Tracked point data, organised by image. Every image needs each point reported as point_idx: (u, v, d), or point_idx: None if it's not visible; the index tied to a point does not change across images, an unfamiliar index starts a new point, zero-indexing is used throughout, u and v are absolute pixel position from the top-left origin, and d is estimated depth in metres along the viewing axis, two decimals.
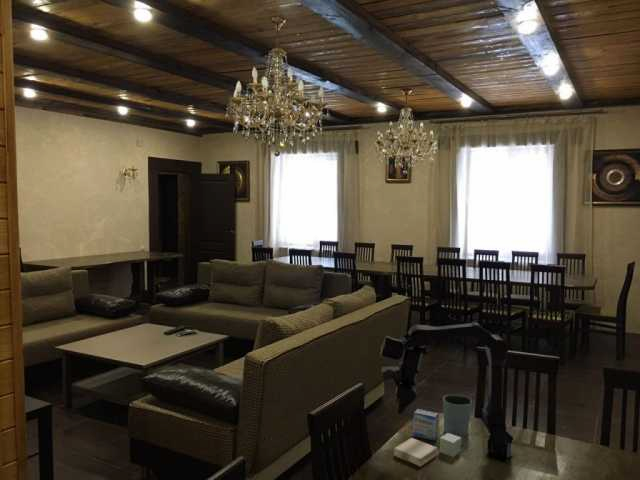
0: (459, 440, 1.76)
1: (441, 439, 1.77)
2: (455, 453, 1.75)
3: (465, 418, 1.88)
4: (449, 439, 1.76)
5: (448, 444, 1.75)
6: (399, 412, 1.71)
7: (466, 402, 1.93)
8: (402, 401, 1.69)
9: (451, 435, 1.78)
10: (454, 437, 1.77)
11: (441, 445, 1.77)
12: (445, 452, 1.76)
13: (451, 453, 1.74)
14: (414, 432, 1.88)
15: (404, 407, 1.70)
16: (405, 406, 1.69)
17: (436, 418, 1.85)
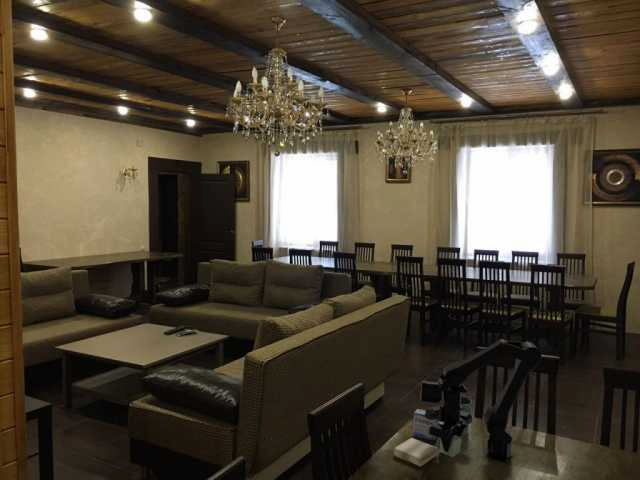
0: (459, 440, 1.76)
1: None
2: (455, 453, 1.75)
3: None
4: None
5: None
6: (445, 450, 1.75)
7: (466, 402, 1.93)
8: None
9: None
10: (454, 437, 1.77)
11: (441, 445, 1.77)
12: (445, 452, 1.76)
13: (451, 453, 1.74)
14: (414, 432, 1.88)
15: (447, 445, 1.74)
16: (447, 444, 1.73)
17: None
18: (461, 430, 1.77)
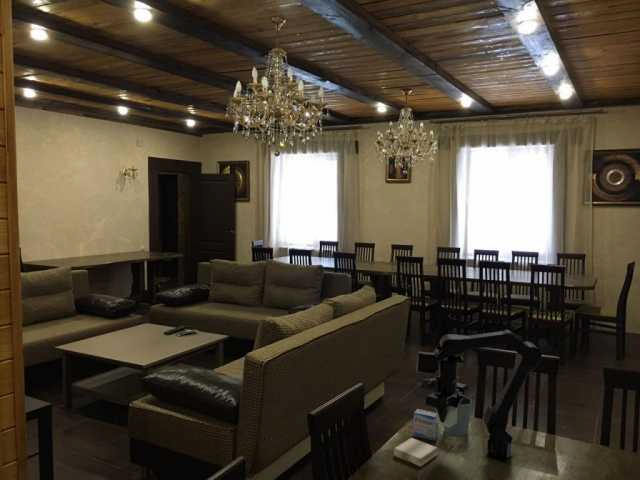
0: (455, 411, 1.75)
1: None
2: (451, 423, 1.74)
3: (465, 418, 1.88)
4: None
5: None
6: (441, 420, 1.74)
7: (466, 402, 1.93)
8: (440, 409, 1.73)
9: None
10: (450, 408, 1.76)
11: (437, 416, 1.75)
12: (441, 422, 1.74)
13: (447, 423, 1.73)
14: (414, 432, 1.88)
15: (443, 415, 1.72)
16: (443, 414, 1.72)
17: None
18: (457, 401, 1.76)
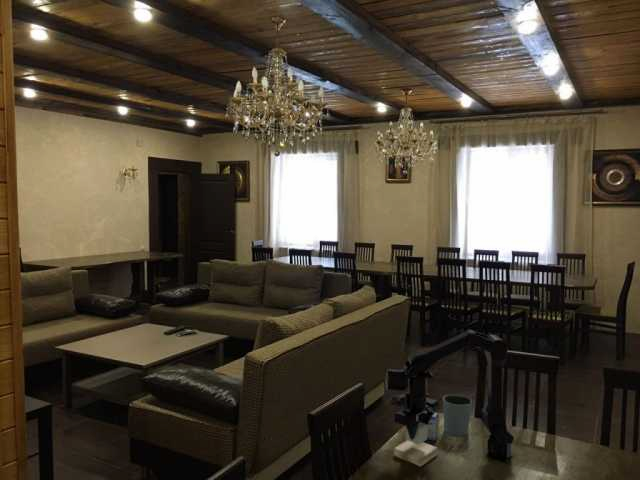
0: (425, 427, 1.73)
1: None
2: (421, 440, 1.72)
3: (465, 418, 1.88)
4: None
5: None
6: (411, 437, 1.72)
7: (466, 402, 1.93)
8: (409, 426, 1.71)
9: None
10: (420, 424, 1.74)
11: (407, 432, 1.74)
12: (411, 439, 1.73)
13: (417, 440, 1.71)
14: None
15: (412, 432, 1.71)
16: (413, 431, 1.70)
17: (436, 418, 1.85)
18: (427, 417, 1.74)
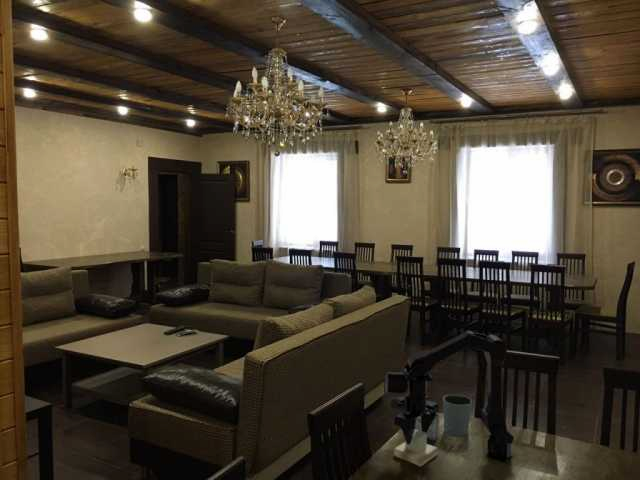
0: (425, 436, 1.74)
1: None
2: (420, 449, 1.72)
3: (465, 418, 1.88)
4: (414, 435, 1.73)
5: (414, 440, 1.72)
6: (407, 442, 1.71)
7: (466, 402, 1.93)
8: (406, 431, 1.70)
9: (417, 431, 1.76)
10: (420, 433, 1.74)
11: None
12: (410, 448, 1.73)
13: (416, 449, 1.72)
14: None
15: (409, 437, 1.69)
16: (409, 436, 1.69)
17: (436, 418, 1.85)
18: (430, 418, 1.76)
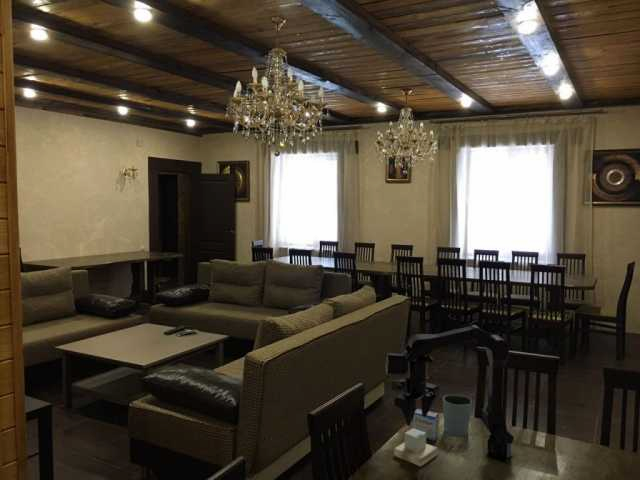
0: (424, 435, 1.74)
1: (406, 434, 1.74)
2: (419, 448, 1.72)
3: (465, 418, 1.88)
4: (413, 434, 1.73)
5: (413, 439, 1.72)
6: (407, 423, 1.70)
7: (466, 402, 1.93)
8: (406, 412, 1.69)
9: (416, 430, 1.76)
10: (419, 432, 1.74)
11: (406, 440, 1.74)
12: (409, 447, 1.73)
13: (415, 448, 1.72)
14: None
15: (409, 418, 1.69)
16: (409, 417, 1.68)
17: (436, 418, 1.85)
18: (431, 400, 1.75)
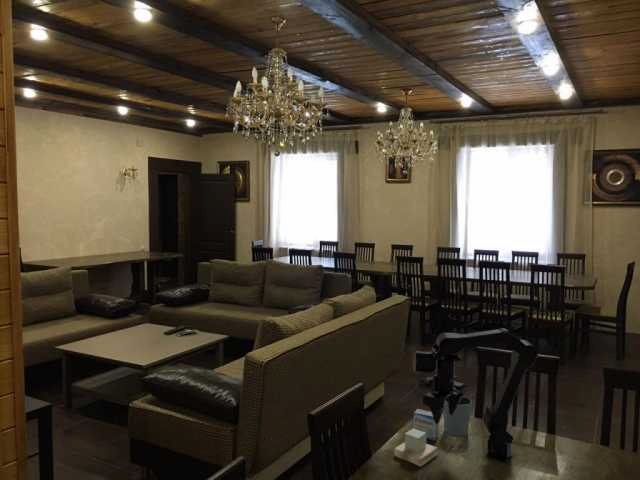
0: (424, 435, 1.74)
1: (406, 435, 1.74)
2: (420, 449, 1.72)
3: (465, 418, 1.88)
4: (414, 435, 1.73)
5: (413, 440, 1.72)
6: (436, 421, 1.71)
7: (466, 402, 1.93)
8: (434, 410, 1.70)
9: (416, 430, 1.76)
10: (419, 432, 1.75)
11: (406, 441, 1.74)
12: (410, 448, 1.73)
13: (416, 449, 1.72)
14: None
15: (437, 416, 1.70)
16: (438, 415, 1.69)
17: None
18: (458, 398, 1.76)
